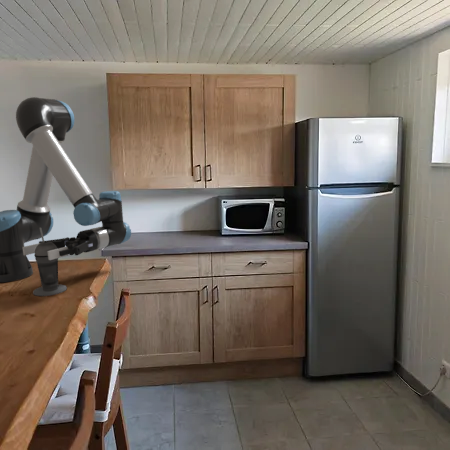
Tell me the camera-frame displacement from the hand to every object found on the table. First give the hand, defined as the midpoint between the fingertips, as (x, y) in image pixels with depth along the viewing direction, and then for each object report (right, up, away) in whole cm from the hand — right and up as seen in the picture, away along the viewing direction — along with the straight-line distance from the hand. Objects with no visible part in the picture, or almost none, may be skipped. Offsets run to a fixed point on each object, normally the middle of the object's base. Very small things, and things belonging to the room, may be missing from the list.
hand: (35, 253), depth 140 cm
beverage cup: (+3, -12, +5) cm, 13 cm away
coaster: (+3, -12, +5) cm, 14 cm away
